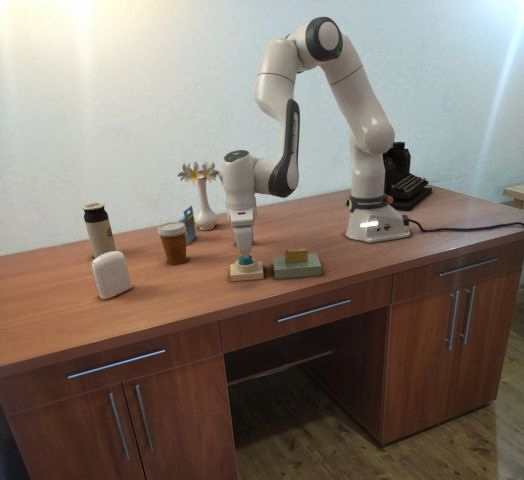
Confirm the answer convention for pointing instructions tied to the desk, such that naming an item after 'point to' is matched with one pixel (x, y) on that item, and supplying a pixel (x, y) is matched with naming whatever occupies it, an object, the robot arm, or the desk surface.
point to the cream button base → (246, 271)
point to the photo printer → (111, 274)
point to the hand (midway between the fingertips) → (246, 257)
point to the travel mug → (98, 229)
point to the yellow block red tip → (296, 255)
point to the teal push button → (245, 260)
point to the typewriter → (402, 179)
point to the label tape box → (189, 224)
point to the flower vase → (202, 191)
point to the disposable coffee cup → (174, 241)
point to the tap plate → (297, 267)
